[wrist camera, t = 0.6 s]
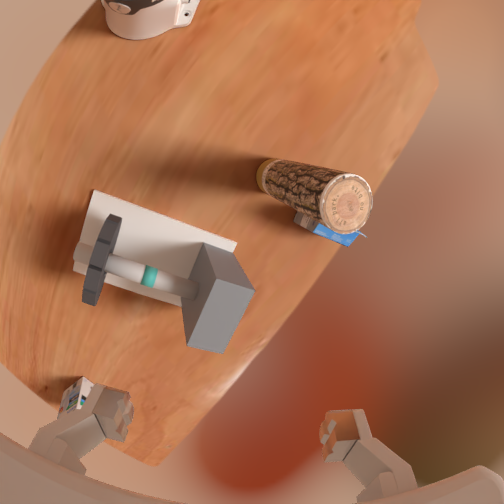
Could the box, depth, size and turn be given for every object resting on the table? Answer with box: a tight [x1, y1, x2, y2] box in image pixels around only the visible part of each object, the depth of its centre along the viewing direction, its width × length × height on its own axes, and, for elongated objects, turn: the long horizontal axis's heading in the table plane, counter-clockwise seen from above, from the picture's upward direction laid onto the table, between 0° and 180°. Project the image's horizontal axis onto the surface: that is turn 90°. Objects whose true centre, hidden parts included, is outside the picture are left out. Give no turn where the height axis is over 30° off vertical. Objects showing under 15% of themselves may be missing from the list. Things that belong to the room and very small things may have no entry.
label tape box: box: [293, 211, 367, 247], centre depth 53 cm, size 9×4×12 cm, turn 67°
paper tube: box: [256, 159, 373, 234], centre depth 42 cm, size 7×7×25 cm
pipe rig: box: [73, 190, 255, 354], centre depth 45 cm, size 16×28×16 cm, turn 64°
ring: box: [82, 214, 122, 306], centre depth 41 cm, size 14×2×14 cm, turn 154°
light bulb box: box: [57, 376, 94, 419], centre depth 53 cm, size 11×7×11 cm, turn 125°
